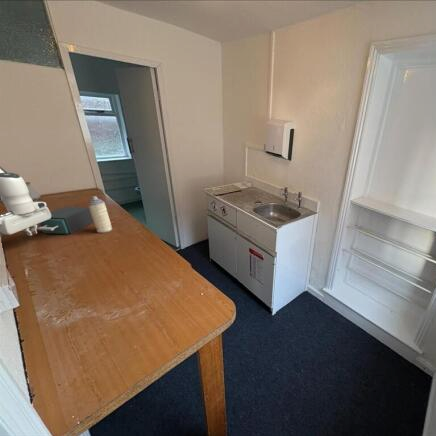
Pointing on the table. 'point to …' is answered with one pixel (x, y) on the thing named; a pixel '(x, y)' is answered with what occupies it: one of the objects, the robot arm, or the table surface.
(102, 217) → the aerosol can
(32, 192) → the coffee pot
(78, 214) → the cabinet
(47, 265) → the table surface
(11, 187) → the robot arm
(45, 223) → the drawer
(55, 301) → the table surface
